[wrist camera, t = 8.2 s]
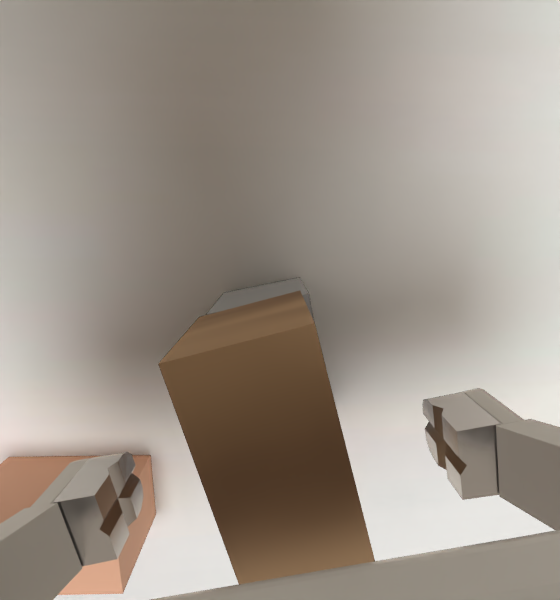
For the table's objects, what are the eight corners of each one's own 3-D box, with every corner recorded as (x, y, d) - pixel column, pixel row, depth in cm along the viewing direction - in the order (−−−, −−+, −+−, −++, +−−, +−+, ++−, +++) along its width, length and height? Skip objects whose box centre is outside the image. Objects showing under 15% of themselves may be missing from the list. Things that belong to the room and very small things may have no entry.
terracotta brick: (22, 513, 17) (-52, 596, 13) (11, 454, 17) (-71, 524, 13) (156, 511, 17) (122, 593, 13) (151, 453, 17) (113, 521, 13)
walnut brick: (199, 316, 11) (158, 364, 7) (300, 290, 11) (314, 323, 7) (255, 489, 12) (247, 607, 9) (345, 467, 12) (379, 577, 8)
